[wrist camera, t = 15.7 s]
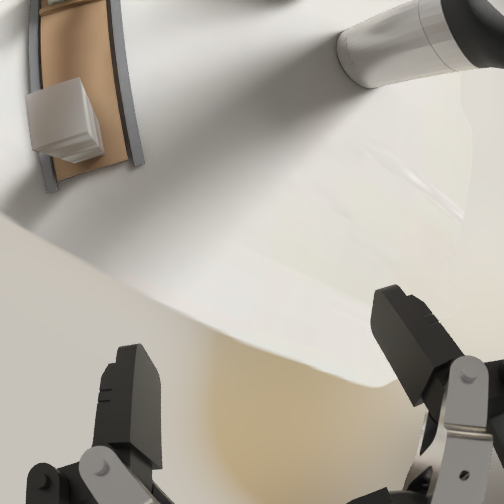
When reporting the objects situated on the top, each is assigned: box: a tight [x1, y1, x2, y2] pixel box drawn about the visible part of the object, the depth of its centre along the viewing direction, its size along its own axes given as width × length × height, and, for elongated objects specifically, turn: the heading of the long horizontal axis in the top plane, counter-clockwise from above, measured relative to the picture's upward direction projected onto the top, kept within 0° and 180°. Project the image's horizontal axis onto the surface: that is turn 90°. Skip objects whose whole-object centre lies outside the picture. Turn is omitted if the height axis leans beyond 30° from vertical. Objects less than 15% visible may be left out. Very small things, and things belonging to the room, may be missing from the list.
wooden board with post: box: [26, 0, 128, 181], centre depth 16 cm, size 7×25×16 cm, turn 11°
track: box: [29, 0, 145, 193], centre depth 21 cm, size 10×39×1 cm, turn 11°
